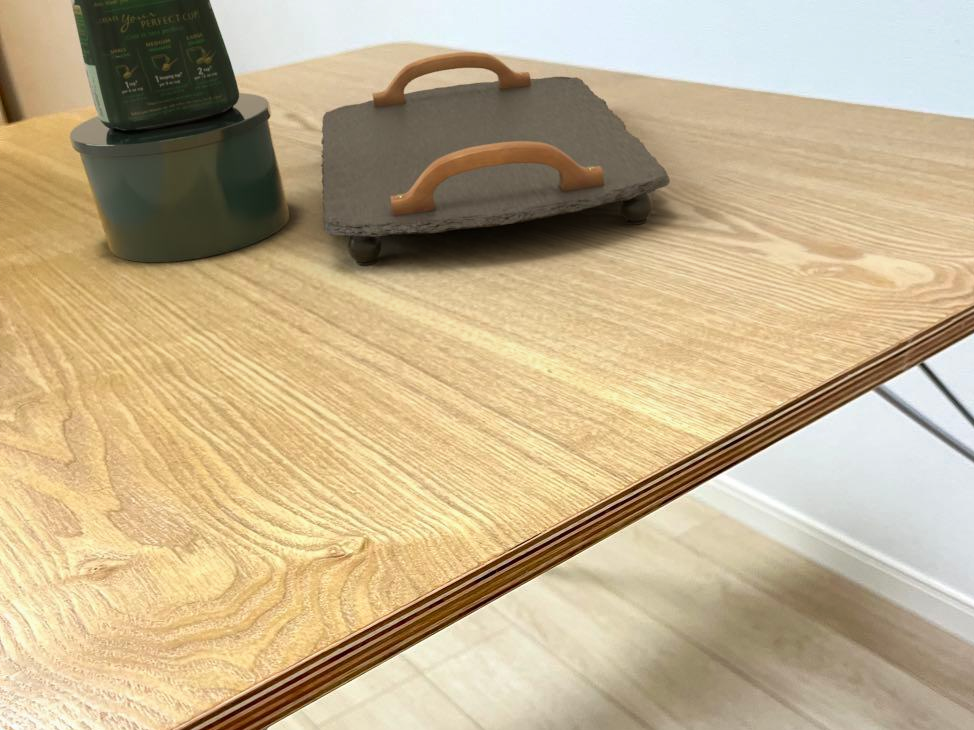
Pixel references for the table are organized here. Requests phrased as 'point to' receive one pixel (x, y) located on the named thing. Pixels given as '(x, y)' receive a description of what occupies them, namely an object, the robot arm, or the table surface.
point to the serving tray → (476, 156)
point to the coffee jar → (154, 61)
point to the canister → (185, 184)
